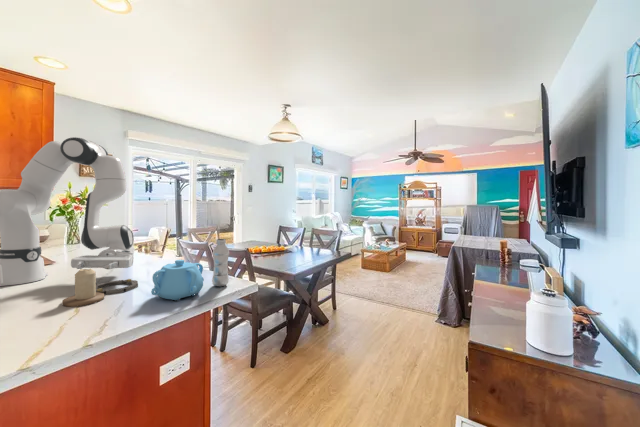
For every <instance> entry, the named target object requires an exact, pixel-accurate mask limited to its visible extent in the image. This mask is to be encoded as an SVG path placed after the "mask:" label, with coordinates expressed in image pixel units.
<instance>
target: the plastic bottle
mask: <svg viewBox="0 0 640 427" xmlns="http://www.w3.org/2000/svg"><path fill="white" fill-rule="evenodd" d="M215 242H216V243H215V244H216V246H215V247H214V249H213V251H212V257H213V273H212V279H211V282H212V285H213V286H214V287H225V286H227V285H228V283H229V279H230V278H229V269H228V266H229V265H228V264H229V263H228V260H229V256H230V249H229V248H228V246H227V245H226V244H227V241H226V239H225V238H217V239H216V240H215Z"/></svg>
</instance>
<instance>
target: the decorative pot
mask: <svg viewBox="0 0 640 427" xmlns="http://www.w3.org/2000/svg"><path fill="white" fill-rule="evenodd" d="M174 262H175V263H167V264H165V265H163V266H162V267H161V268H160V269H159V270H156V271H155V272H154V273H153V275H152V282H153V285H154V287H153V288H152V289H151V292H150V293H151V295H152V296H158V297H160V298H162V299H165V300H171V301H172V300H178V301H180V300H181V299H183V298H188V297H192V296H191V295H194V294H196V295H197V294H198V293H199V292H200V291H201V290H202V288H203V286H204V277H203V270H204V267H203V264H201V263H199V262H195V263H193V262H188V261H187V262H186V261H185V260H184V259H175V260H174ZM194 296H195V295H194ZM179 299H180V300H179Z"/></svg>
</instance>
